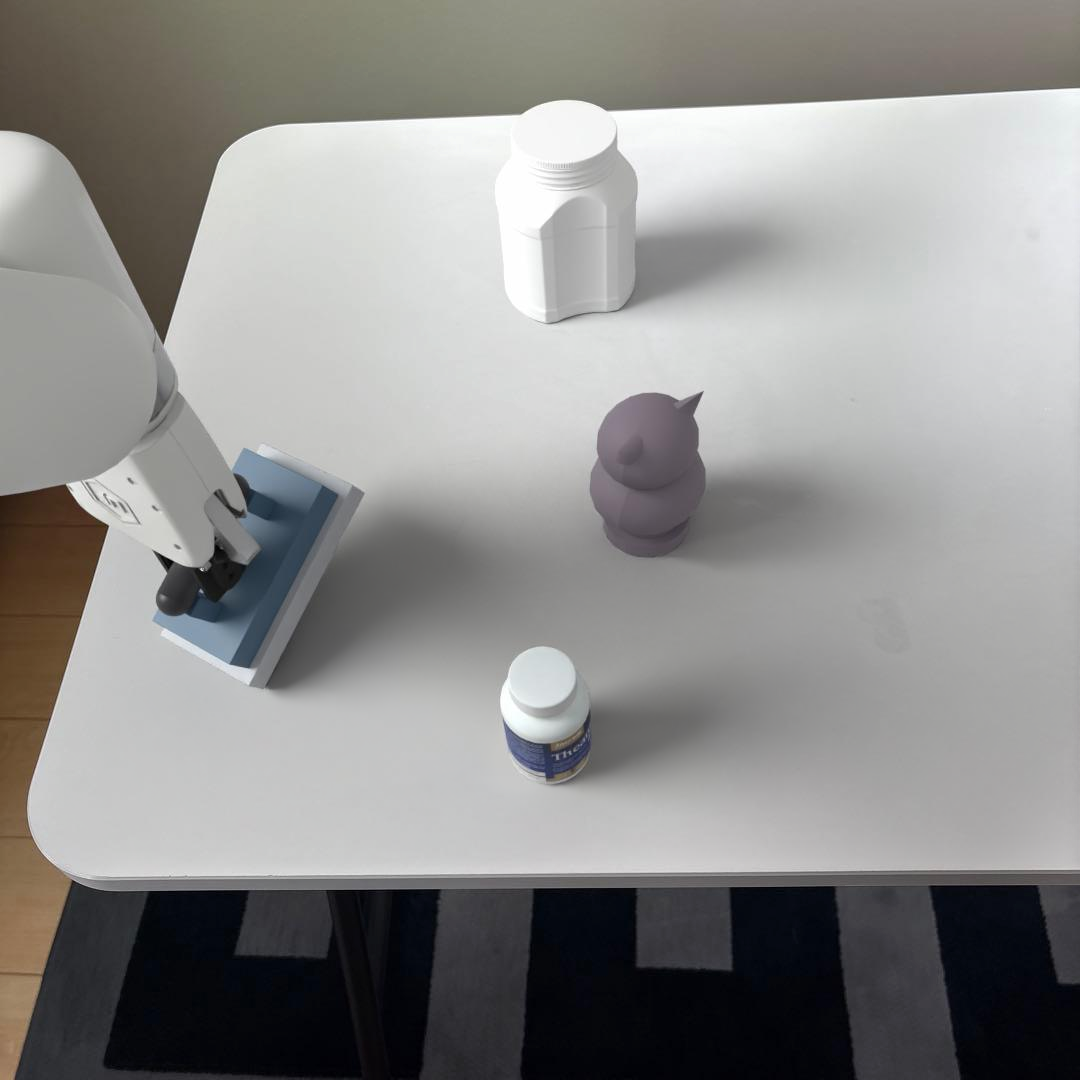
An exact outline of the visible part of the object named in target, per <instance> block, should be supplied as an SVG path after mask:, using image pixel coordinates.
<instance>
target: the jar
mask: <svg viewBox="0 0 1080 1080" xmlns="http://www.w3.org/2000/svg"><path fill="white" fill-rule="evenodd" d="M510 147H511V156H510V157H509V159H508V160H507V161H506V163H505V164H504V166H503V167H502V168H501V170H500V171H499V173H498V175H497V178H496V180H495V185H494V194H495V204H496V207H497V211H498V221H499V229H500V239H501V250H502V260H503V265H504V266H503V278H504V279H503V280H504V288H505V292H506V295H507V297H508V299H509V301H510V302H511V304H512V305H513V306H514V307H515V308H516V309H517V310H518V311H519V312H520V313H521V314H522V315H525V316H526V317H528V318H530V319H531V320H534V321H537V322H539V323H542V324H551V323H556V322H557V323H558V322H560V321H562V320H565V319H567V318H570V317H574V316H577V315H582V314H588V313H589V314H590V313H609V312H614V311H615V312H616V311H619V310H620V309H621V308H622V307H623V306H624V305H625V304H627V302H628V300H629V299H630V298H631V296H632V294H633V292H634V290H635V285H636V274H637V273H636V272H637V271H636V270H637V269H636V262H635V261H636V219H637V217H636V216H637V215H636V214H637V200H638V194H639V193H638V190H639V189H638V188H639V184H638V183H639V181H638V177H637V176H638V175H637V173H636V171H635V169H634V168H633V166H632V164H631V163H630V162H629V161H628V160H627V158H626V157H625V156H624V155H623V154H622V153H621V151H620V150H619V149H618V126H617V123H616V120H615V119H614V117H613V116H612V115H611V114H610V112H608V111H607V110H606V109H604V108H603V107H601V106H598V105H596V104H593V103H591V102H586V101H582V100H574V99H561V100H559V99H558V100H552V101H548V102H544V103H541V104H538V105H535V106H533V107H531V108H529V109H527V110H526V111H524V112H523V113H522V114H520V116H519V117H518V118H517V119H516V120H515V121H514V123H513V125H512V127H511V131H510Z"/></svg>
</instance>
